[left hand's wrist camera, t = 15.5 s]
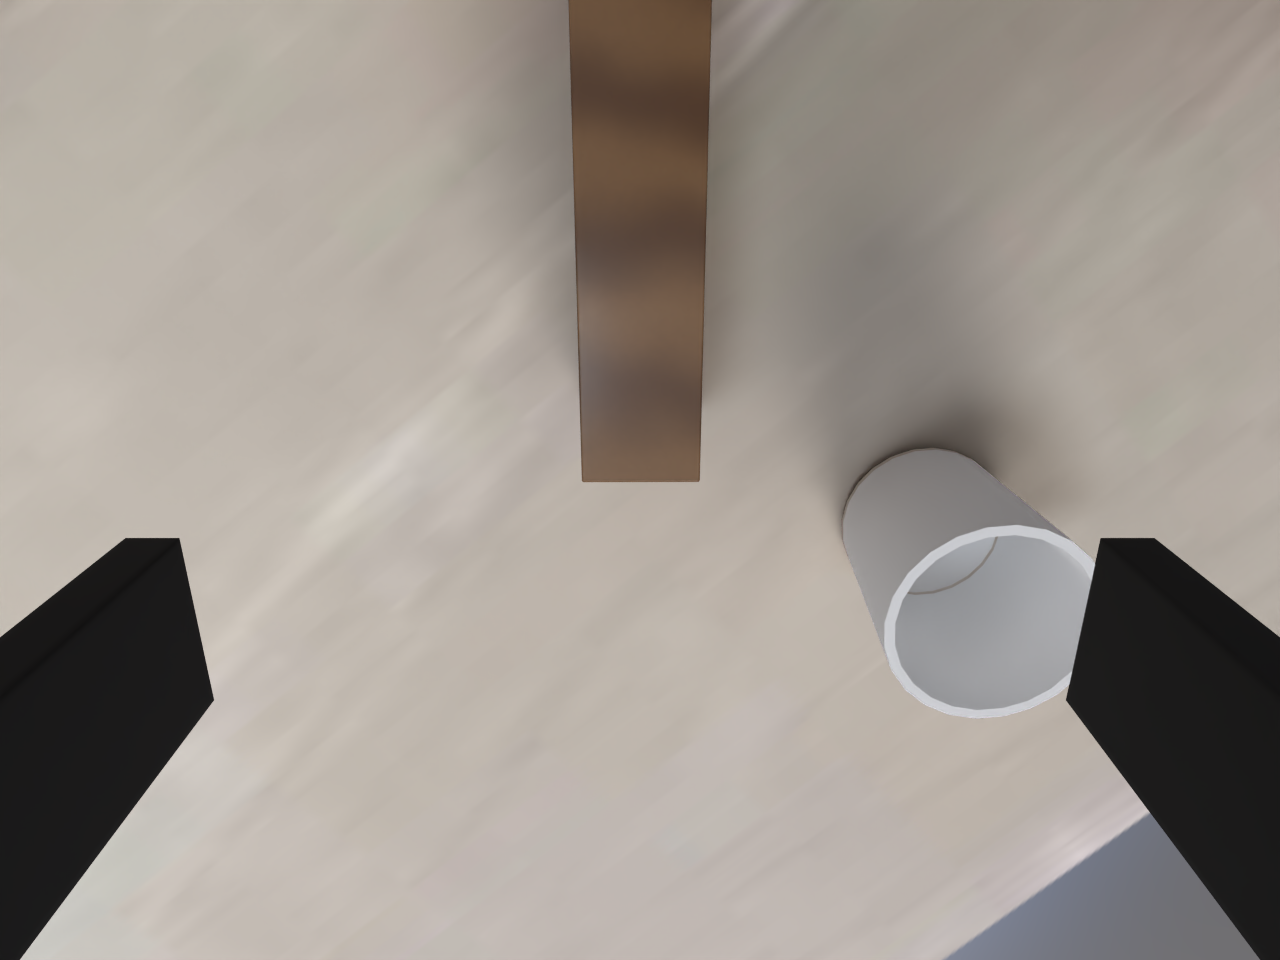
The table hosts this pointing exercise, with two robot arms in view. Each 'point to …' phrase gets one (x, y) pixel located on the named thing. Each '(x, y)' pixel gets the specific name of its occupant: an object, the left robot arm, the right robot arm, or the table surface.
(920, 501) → the mug
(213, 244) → the table surface
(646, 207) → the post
